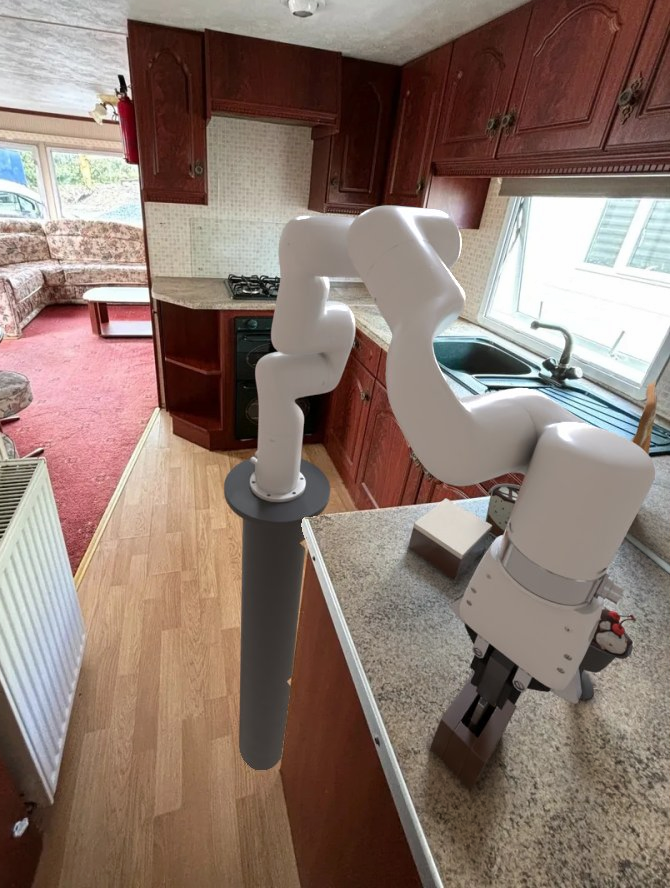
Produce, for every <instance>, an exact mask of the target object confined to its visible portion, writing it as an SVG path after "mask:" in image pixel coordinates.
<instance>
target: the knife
mask: <svg viewBox="0 0 670 888" xmlns="http://www.w3.org/2000/svg"><path fill="white" fill-rule="evenodd" d="M515 666H516V664H515V663H514V662H513V661H512V660H510V659H509V658H508V657H506V656H505V655H504V654H503V653H501V652H500V651H499V650H498V649H496V648H495V650H494V651H493V653H492V654H491V656H490V658H489V660H488V663H487V666H486V668H485V671H484V673H483V676H482V678H481V680H480V683H479V685H478V687H477V689H476V692H477V693H478V694H479V695H480V696H481V697H482V698H481V699H480V701H479V702H478V704H477V707H476V709H475V711H474V714H473V716H472V718H471V720H469V723H468V726H467V728H468V729H469V730H470V731H471V732H472V733H473V734H474V735H475V736H476V735H477V733H478V731H479V729H480V728H479V727H480V725H481V723H482V720H483V718H484V716H485V714H486V712H487V709H488V707H489V705H492V706H493V707H495V705H496V703H495V702H496V700H497V698H498V696H499V694H500V692H501V689H502V687H503V685H504V683H505V681H506V680H507V679H508V677H509V676H510V674H511V672H512V671H513V669H514V667H515Z"/></svg>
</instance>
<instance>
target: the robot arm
mask: <svg viewBox="0 0 670 888" xmlns="http://www.w3.org/2000/svg"><path fill="white" fill-rule="evenodd" d="M461 250H462V235H461V232H460V230H459V226H458V225H457V223H456V221H455V220H454V219H453V217H451V215H449V214H448V213H447V212H444V211H442V210H440V209H436V208H426V207H416V206H405V205H404V206H402V205H392V204H391V205H379V206H374V207H372V208H369V209H366V210H364V211H363V212H361V213H360V214H359V215H358V216H356V217H350V216H339V215H338V216H337V215H324V214H323V215H322V214H319V215H317V214H309V215H299V216H296V217H293V218H291V219H290V220H289V221H288V222H287V223H286V224H285V226H284V227H283V229H282V230H281V234H280V236H279V240H278V252H277V253H278V264H279V276H280V277H279V278H280V279H279V285H278V290H277V295H276V301H275V307H274V313H273V318H272V322H271V330H270V339H271V340H270V341H271V343H272V346H273V348H274V349H275V350H276V351H274V352H270V353H267V354H264V356H262V357H261V358H259V359H258V361H257V363H256V365H255V372H254V377H255V385H256V390H257V398H258V399H257V400H258V429H257V449H256V450H255V452H254V456H252V457H250V458H251V459H250V462H252V463H253V464H255V472H253V474H252V475H251V477H250V488H251V490H252V492H253V493H254V494H255V495H256V496H258V497H259V498H261V499H264V500H266V501H270V502H288V501H291V500H294V499H296V498H298V497H299V496H300V495H301V494H302V493H303V492H304V490H305V485H306V481H305V478H304V476H303V475H302V473H301V472H300V462H301V459H302V448H303V439H304V426H305V425H304V424H305V415H304V413H303V410H302V409H301V407H300V405H298V404H297V403H296V400H297V399H300V398H305V397H309V396H315V395H322V394H326V393H329V392H332V391H333V390H335V389H336V387H338V385H339V383H340V381H341V379H342V376H343V373H344V371H345V368H346V365H347V362H348V359H349V357H350V353H351V350H352V349H353V344H354V342H355V336H356V319H355V315H354V313H353V312H352V311H353V310H351V308H350V307H349V306H348V305H347V304H345V303H344V302H341V301H338V300H336V301H335V300H328V298H329V296H330V288H331V287H330V286H331V285H330V278H334V279H335V278H342V279H343V278H344V279H349V278H351V279H352V278H353V279H354V278H358V279H359V278H361V280H362V283H363V285H364V287H366V290H367V291H368V293H369V295H370V296H371V299H372V300H373V302H374V304H375V305H376V307H377V309H378V311H379V312H380V314H381V316H382V318H383V320H384V321H385V324H387V326H388V328H389V330H390V333H391V340H390V342H389V346H388V349H387V353H386V359H385V386H386V394H387V399H388V404H389V406H390V408H391V411H392V414H393V416H394V418H395V419H396V422H397V423H398V425H399V427H400V429H401V431H402V433H403V436H404V437H405V440H406V441H407V443H408V445H409V446H410V448H411V450H412V451H413V453H414V455H415V457H416V458H417V460H418V461H419V462H420V463H421V465H422V466H423V467H424V469H425V470H426V471H427V472H428V473H430V475H432V476H433V477H434V478H436V479H437V480H438V481H441V482H442V483H444V484H446V485H450V486H454V487H467V486H468V487H469V486H473V485H476V484H480V483H484V482H487V481H489V480H492V479H496V478H499V477H501V476H505V475H507V474H512V473H513V474H521V475H523V480H522V483H521V485H520V486H521V488H520V491H519V493H518V496H517V499H516V502H515V504H514V507H513V510H512V513H511V515H510V518H509V521H508V524H507V526H506V529H505V532H504V535H501V536H499V537H497V538H494V540H493V542H491V544H490V546H489V547H488V548H487V550H486V552H485V553H484V555H483V557H481V559H480V561H479V563H478V565H477V566H476V569H475V571H474V573H473V574H472V576H471V578H470V580H469V583H468V584H467V587H466V589H465V591H464V593H462V594H461V595H459V596H458V597H456V598H455V599H454V600H453V602H451V603H450V609H451V611H452V612H453V613H454V614H455V616H456V617H457V618H458V619H459V620H460V622H461V623H463V624H464V628H465V630H466V633H467V634H468V637H469V639H470V640H471V642H472V648H471V649H472V650H471V651H472V653H473V657H472V660H471V662H470V666H469V668H470V669H471V670H472V671H473V672H474V671H475V672H474V675H473V677H472V680H471V682H470V683H471V684H472V685H473V686H474V687H475V686H476V687H478V685H479V683H480V680H481V678H482V676H483V673H484V671H485V668H486V666H487V663H488V660H489V658H490V656H491V654H492V653H493V651H494V650H495V648H496V649H498V650H499V651H500V652H501V653H503V654H504V655H505V656H506V657H508V658H509V659H510V660H512V661H513V662H514V663H515V664H516V666H515V667H514V669H513V671H512V672H511V674H510V676H509V677H508V679H507V680H506V681H505V683H504V685H503V687H502V689H501V692H500V694H499V696H498V698H497V700H496V702H495V703H496V704H497V707H498V708H500V709H501V710H502V709H503V707H504V705H505V704H506V702H507V700H509V701H510V702H511V703H513V704H514V705H516V703H517V702H518V700H519V698H520V697H521V695H522V693H525V692H527V689H528V690H533V691H538V692H544V693H549V692H551V693H553V695H555V696H557V697H558V698H561V699H562V700H565V701H567V702H568V703H571V704H574V705H575V704H578V702H579V700H580V699H579V698H580V696H581V694H582V689H581V682H580V674H579V665H580V663H581V662H582V660H583V658H584V656H585V654H586V652H587V649H588V647H589V645H590V643H591V640H592V638H593V636H594V634H595V632H596V629H597V626H598V623H599V620H600V616H601V612H602V608H604V607H603V606H604V600H606V599H607V600H608V601H609V602H611V603H613V604H615V605H617V604H618V603H619V601H620V599H621V598H622V595H623V593H624V592H625V589H624V588H622V587H620V586H619V585H617V584H615V583H614V581H613V580H611V579H609V577H610V574H609V573H607V571H608V569H609V567H610V565H611V563H612V562H613V560H614V558H615V556H616V554H617V553H618V550H619V548H620V547H621V545H622V543H623V541H624V539H625V537H626V536H627V534H628V532H629V530H630V528H631V526H632V524H633V522H634V520H635V519H636V517H637V515H638V513H639V511H640V509H641V507H642V505H643V504H644V502H645V500H646V498H647V496H648V493H649V492H650V490H651V488H652V486H653V485H654V481H655V478H656V467H655V463H654V461H653V459H652V458H651V456H650V455H648V454H647V453H646V452H645V451H644V450H643V449H642V448H641V447H639V446H638V445H637V444H635V443H633V442H632V441H631V440H630V439H628V438H626V437H624V436H622V435H621V434H618V433H615V432H612V431H610V430H607V429H604V428H601V427H598V426H593V425H590V424H589V423H587V422H586V421H584V420H582V419H581V418H580V417H578V416H576V415H575V414H573V412H570V410H568V409H566V408H565V407H564V406H562V405H561V404H559V403H558V402H557V401H555V400H553V399H552V398H550V397H549V396H547V395H545V394H543V393H542V392H539V391H536V390H534V389H530V388H525V387H524V388H523V387H514V388H506V389H501V390H497V391H491V392H490V391H489V392H485V393H479V394H475V395H468V396H464V397H459V398H458V396H457V394H456V392H455V391H454V389H452V386H451V385H450V384H449V382H448V380H447V379H446V377H445V375H444V373H443V372H442V370H441V368H440V366H439V363H438V361H437V357H436V354H435V351H434V350H435V349H434V340H435V339H436V338H437V337H438V336H440V335H441V334H443V333H444V332H445V331H447V329H449V328H450V327H451V326H452V325H453V324H454V323H455V322H456V321H457V319H458V318H459V317H460V315H461V314H462V312H463V310H464V308H465V306H466V295H465V291H464V289H463V288H462V287H461V285H460V284H459V282H458V281H457V280H456V278H455V277H454V275H453V274H452V272H451V271H450V270H452V268H453V267H454V266H455V264H456V263H457V262H458V260H459V257H460V254H461ZM255 457H257V459H256V458H255Z"/></svg>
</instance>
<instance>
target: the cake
mask: <svg viewBox="0 0 670 888" xmlns="http://www.w3.org/2000/svg"><path fill="white" fill-rule="evenodd" d="M491 528H492V525H491V524H489V523H487V522H486V520H484V519H482V518H481V517H479V516H477V515H475V514H474V513H472V512H471V511H469V510H467V509H465V508H464V507H462V506H460V505H458V504H457V503H455V502H453V501H451V500H450V499H448V498H444V499H443V500H441V501H440V502H439V503H438V504H437V505H435V506H434V507H433V508H431V509H430V510H429V511H428V512H426V513H425V514H424V515H422V516H421V517H420V518H418V519H417V520H416V521H414V523H413V527H412V530H411V534H410V538H409V543H408V546H407V549H409V550H410V551H412V552H413V553H415V554H416V555H417V556H419V557H420V558H422V559H423V560H424V561H426V562H427V563H428V564H430V565H431V566H433V568H436V570H438V571H439V572H440V573H443V575H444V576H446V577H448V578H449V579H451V580H452V581H453V582H455V581H456V580H457V579H458V578H459V577H460V576H461V575H462V574H463V573H464V572H465V571H466V569H467V568H468V567H469V566H470V565H471V564H472V563H473V562H474V561H475V560H476V559H477V558H478V556H480V555H481V553H483V551H484V550H485V547H486V545H487V543H488V540H489V539H488V538H489V536H490V534H489V533H490V530H491Z"/></svg>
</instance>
